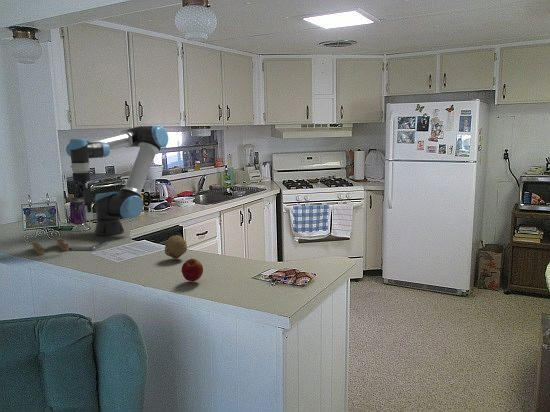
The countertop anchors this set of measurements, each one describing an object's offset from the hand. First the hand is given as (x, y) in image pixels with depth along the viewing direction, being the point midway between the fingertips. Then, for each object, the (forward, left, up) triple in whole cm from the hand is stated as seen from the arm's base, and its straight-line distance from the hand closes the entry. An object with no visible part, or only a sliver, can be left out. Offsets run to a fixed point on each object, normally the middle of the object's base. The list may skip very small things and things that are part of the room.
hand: (85, 217), depth 215 cm
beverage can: (+2, -6, -3) cm, 7 cm away
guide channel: (+15, -4, -14) cm, 21 cm away
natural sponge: (-23, +49, -14) cm, 56 cm away
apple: (-14, +80, -14) cm, 82 cm away
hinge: (0, +9, -14) cm, 17 cm away
